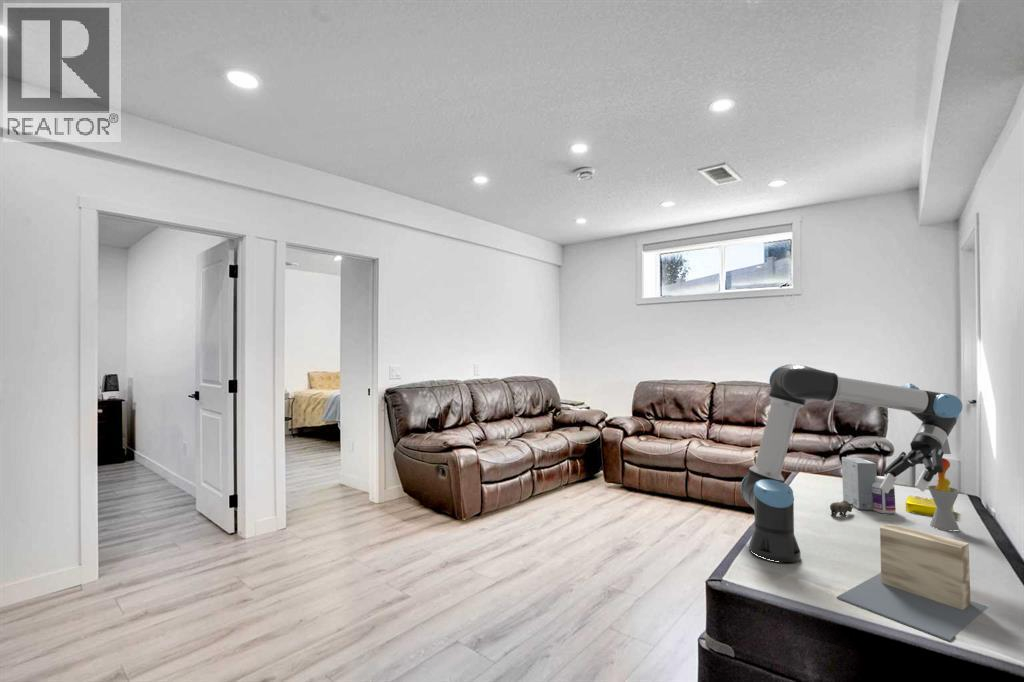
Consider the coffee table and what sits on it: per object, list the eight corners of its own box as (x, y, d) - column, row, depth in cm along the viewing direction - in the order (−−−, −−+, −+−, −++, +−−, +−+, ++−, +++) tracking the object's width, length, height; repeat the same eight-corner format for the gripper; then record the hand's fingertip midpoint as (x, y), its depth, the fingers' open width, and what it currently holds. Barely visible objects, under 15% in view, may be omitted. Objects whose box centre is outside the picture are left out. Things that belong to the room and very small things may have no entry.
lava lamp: (958, 533, 181) (955, 439, 182) (927, 527, 188) (924, 436, 189) (962, 528, 187) (959, 437, 188) (931, 522, 194) (929, 434, 195)
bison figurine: (858, 515, 203) (858, 500, 203) (837, 519, 198) (836, 504, 198) (848, 512, 207) (848, 497, 207) (827, 516, 201) (826, 501, 202)
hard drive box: (879, 510, 207) (877, 463, 208) (858, 509, 209) (857, 463, 210) (861, 500, 222) (859, 456, 223) (842, 499, 224) (840, 456, 225)
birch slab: (890, 577, 145) (889, 523, 145) (970, 603, 130) (968, 543, 130) (881, 582, 141) (880, 527, 142) (962, 610, 126) (960, 547, 127)
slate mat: (881, 573, 148) (881, 572, 148) (988, 608, 128) (988, 606, 128) (836, 598, 133) (836, 596, 133) (950, 641, 113) (950, 640, 113)
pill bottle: (894, 510, 208) (893, 476, 209) (896, 515, 201) (895, 480, 202) (871, 507, 212) (869, 474, 213) (872, 512, 206) (871, 478, 206)
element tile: (905, 512, 207) (905, 501, 207) (908, 504, 218) (908, 493, 218) (952, 520, 197) (952, 508, 197) (953, 511, 208) (953, 500, 208)
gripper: (974, 444, 151) (947, 496, 144) (906, 453, 174) (879, 499, 168) (953, 427, 152) (925, 478, 145) (888, 439, 175) (861, 483, 169)
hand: (900, 489), depth 156 cm, fingers open, 13 cm apart
